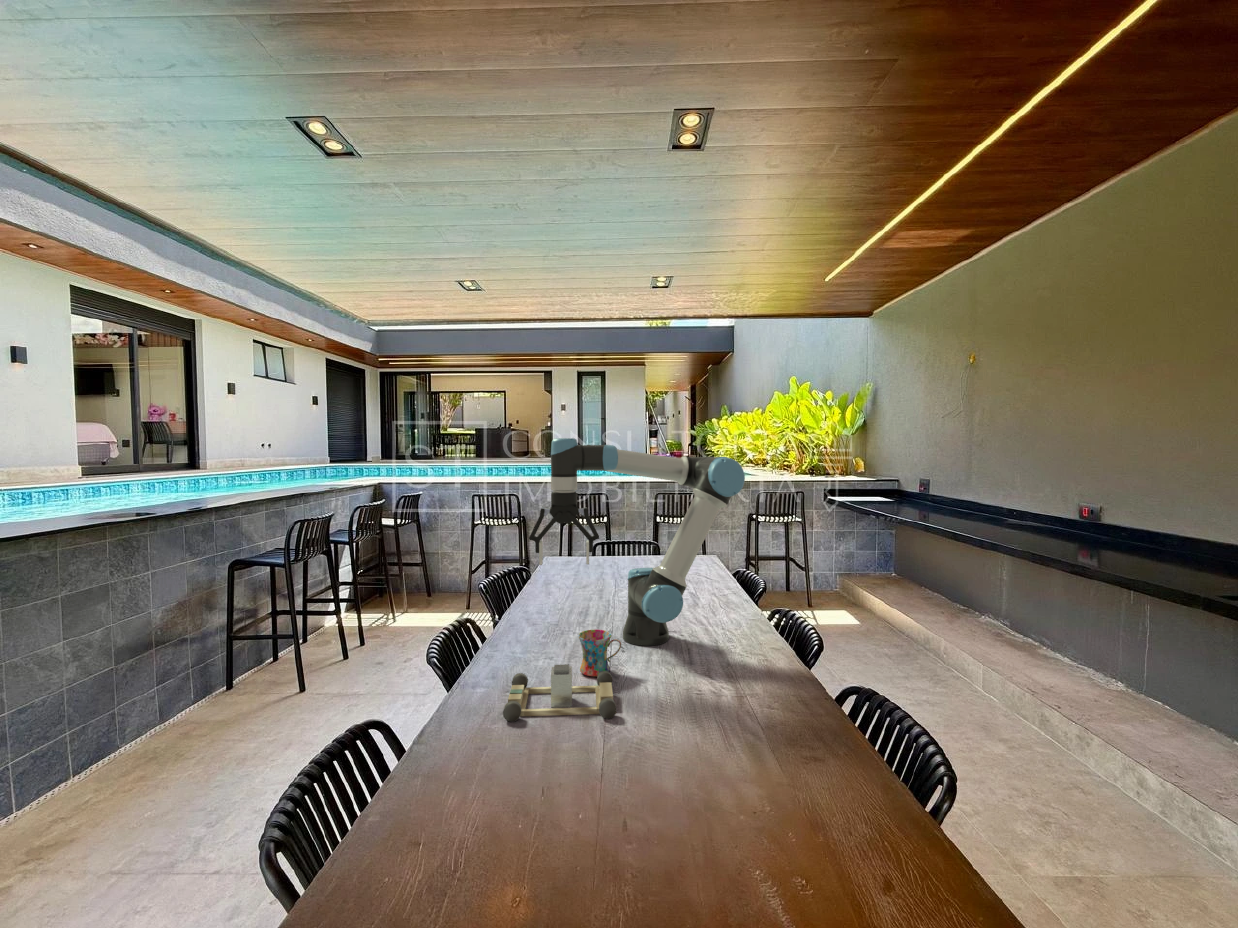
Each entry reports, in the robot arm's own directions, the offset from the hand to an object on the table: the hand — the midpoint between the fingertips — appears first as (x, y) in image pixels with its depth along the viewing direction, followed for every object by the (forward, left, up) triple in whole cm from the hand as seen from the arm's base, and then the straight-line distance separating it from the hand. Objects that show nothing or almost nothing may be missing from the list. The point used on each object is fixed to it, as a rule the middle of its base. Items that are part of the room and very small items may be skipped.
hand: (564, 563), depth 165 cm
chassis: (0, +27, -29) cm, 39 cm away
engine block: (0, +27, -29) cm, 39 cm away
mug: (-10, +9, -29) cm, 32 cm away
